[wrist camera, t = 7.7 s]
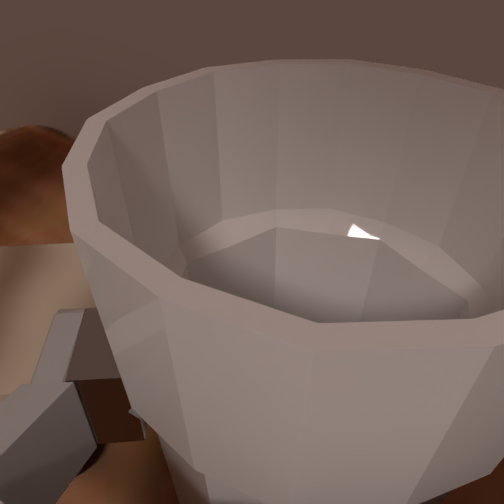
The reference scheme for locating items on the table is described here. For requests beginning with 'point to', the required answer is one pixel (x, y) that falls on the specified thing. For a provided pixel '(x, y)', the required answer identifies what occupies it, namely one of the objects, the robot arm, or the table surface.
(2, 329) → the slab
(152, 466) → the table surface
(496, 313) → the cup
